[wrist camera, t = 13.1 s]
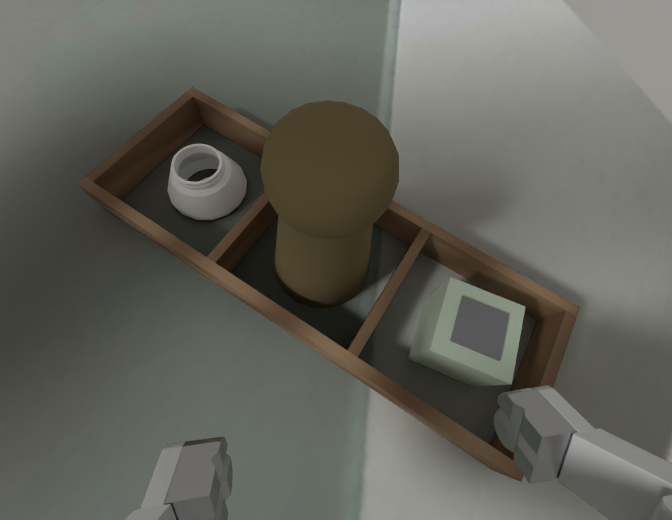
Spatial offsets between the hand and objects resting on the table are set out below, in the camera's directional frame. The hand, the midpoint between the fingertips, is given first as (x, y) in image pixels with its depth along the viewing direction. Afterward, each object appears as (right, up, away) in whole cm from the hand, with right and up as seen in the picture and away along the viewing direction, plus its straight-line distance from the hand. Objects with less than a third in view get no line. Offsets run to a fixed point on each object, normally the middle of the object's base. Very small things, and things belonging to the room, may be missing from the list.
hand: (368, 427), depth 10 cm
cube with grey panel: (+6, 0, +10) cm, 12 cm away
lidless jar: (-10, +10, +13) cm, 19 cm away
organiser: (-2, +5, +11) cm, 13 cm away
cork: (-2, +5, +12) cm, 13 cm away
